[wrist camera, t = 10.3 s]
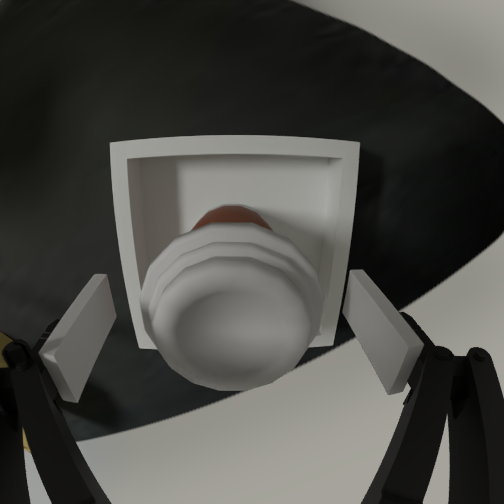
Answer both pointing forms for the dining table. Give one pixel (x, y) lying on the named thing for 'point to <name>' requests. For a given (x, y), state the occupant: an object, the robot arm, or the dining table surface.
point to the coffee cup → (232, 301)
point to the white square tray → (236, 201)
